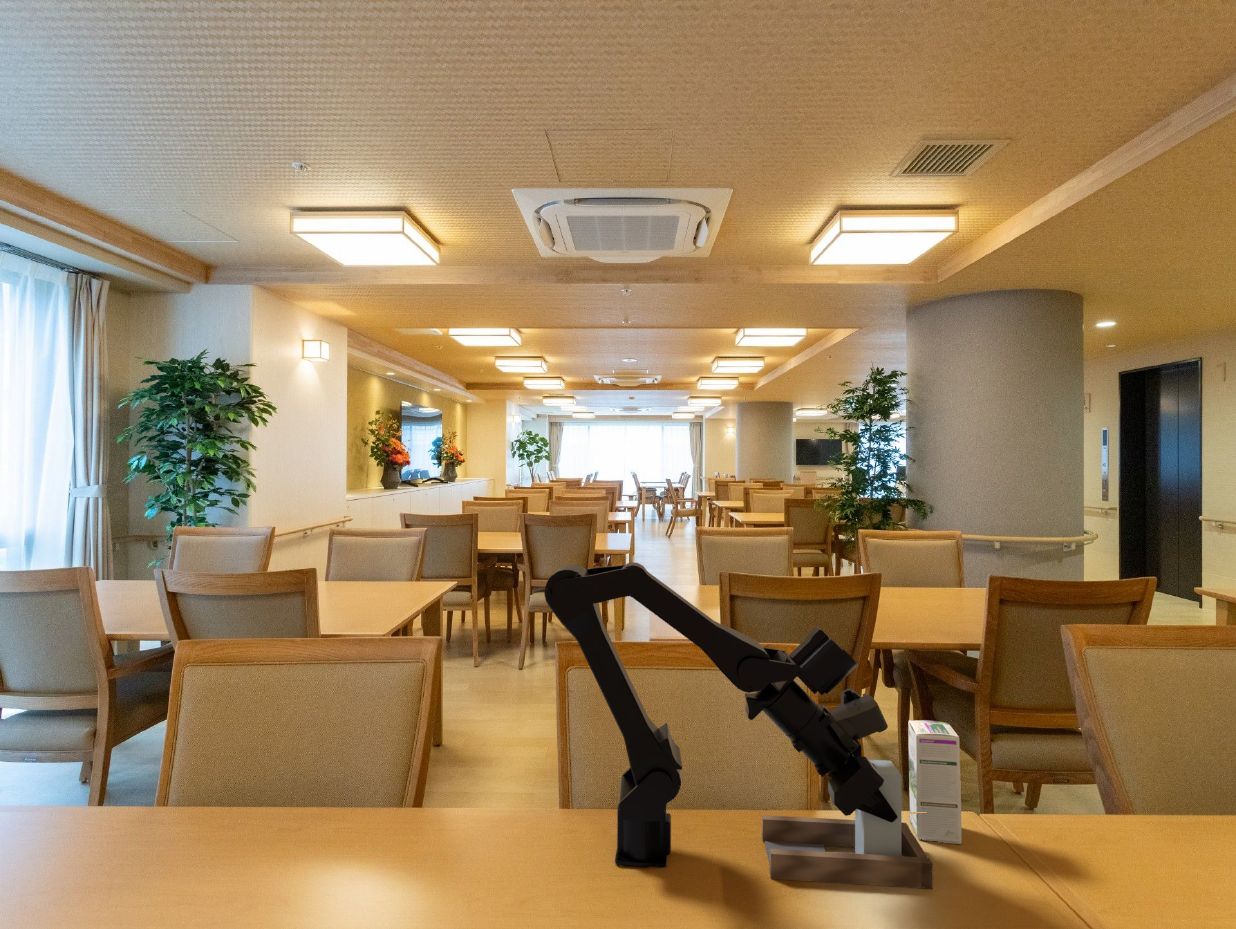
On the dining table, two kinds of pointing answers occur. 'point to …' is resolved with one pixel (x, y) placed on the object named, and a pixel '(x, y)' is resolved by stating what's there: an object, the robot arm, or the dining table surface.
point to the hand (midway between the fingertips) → (889, 810)
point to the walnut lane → (839, 854)
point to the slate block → (873, 830)
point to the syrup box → (934, 781)
